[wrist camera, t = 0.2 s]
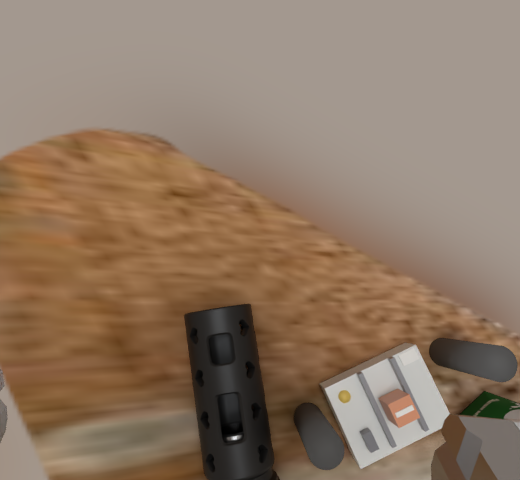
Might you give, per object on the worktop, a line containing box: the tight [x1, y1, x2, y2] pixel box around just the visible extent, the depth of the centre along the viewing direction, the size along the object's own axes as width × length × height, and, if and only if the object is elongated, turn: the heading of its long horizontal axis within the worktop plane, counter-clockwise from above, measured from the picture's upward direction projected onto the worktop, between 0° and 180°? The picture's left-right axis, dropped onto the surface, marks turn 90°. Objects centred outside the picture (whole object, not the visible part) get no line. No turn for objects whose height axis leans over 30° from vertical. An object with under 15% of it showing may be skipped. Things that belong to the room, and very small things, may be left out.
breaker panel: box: [320, 343, 450, 469], centre depth 56 cm, size 11×14×6 cm
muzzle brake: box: [184, 304, 280, 480], centre depth 54 cm, size 10×28×10 cm, turn 9°
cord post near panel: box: [294, 403, 344, 470], centre depth 52 cm, size 4×4×14 cm
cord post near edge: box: [429, 338, 517, 382], centre depth 54 cm, size 4×4×14 cm
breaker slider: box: [378, 389, 420, 428], centre depth 53 cm, size 3×3×4 cm
